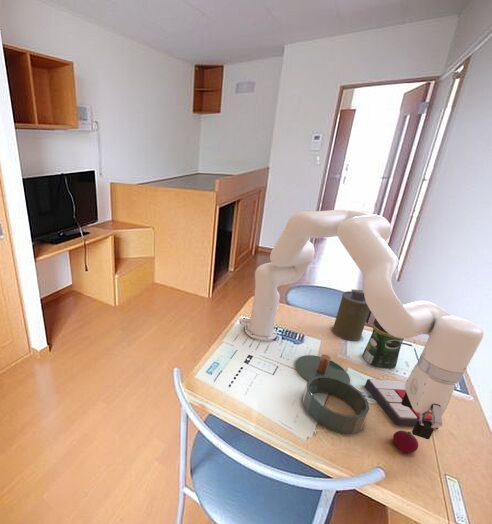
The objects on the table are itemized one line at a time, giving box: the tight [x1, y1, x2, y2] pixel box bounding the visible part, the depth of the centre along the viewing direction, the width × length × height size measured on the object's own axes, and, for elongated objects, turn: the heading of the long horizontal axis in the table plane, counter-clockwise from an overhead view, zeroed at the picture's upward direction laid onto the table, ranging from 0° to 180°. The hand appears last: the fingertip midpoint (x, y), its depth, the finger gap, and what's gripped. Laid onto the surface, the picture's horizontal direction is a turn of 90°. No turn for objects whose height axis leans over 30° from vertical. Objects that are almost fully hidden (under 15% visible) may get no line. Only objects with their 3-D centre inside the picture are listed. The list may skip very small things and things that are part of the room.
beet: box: [392, 430, 419, 455], centre depth 80 cm, size 5×5×6 cm
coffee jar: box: [362, 317, 405, 369], centre depth 108 cm, size 10×8×19 cm
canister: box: [331, 289, 372, 342], centre depth 125 cm, size 11×10×20 cm
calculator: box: [364, 378, 432, 427], centre depth 92 cm, size 11×4×15 cm
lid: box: [294, 354, 351, 384], centre depth 105 cm, size 17×17×7 cm
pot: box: [302, 376, 370, 435], centre depth 90 cm, size 16×16×6 cm
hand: (413, 420), depth 77 cm, fingers open, 9 cm apart
